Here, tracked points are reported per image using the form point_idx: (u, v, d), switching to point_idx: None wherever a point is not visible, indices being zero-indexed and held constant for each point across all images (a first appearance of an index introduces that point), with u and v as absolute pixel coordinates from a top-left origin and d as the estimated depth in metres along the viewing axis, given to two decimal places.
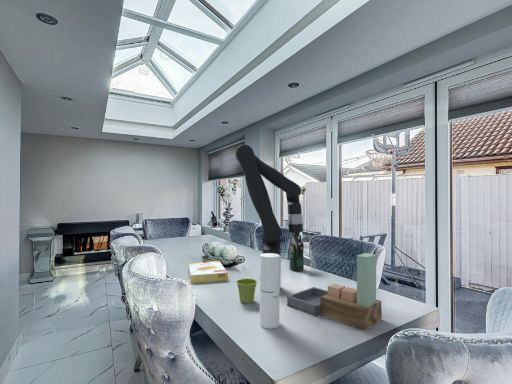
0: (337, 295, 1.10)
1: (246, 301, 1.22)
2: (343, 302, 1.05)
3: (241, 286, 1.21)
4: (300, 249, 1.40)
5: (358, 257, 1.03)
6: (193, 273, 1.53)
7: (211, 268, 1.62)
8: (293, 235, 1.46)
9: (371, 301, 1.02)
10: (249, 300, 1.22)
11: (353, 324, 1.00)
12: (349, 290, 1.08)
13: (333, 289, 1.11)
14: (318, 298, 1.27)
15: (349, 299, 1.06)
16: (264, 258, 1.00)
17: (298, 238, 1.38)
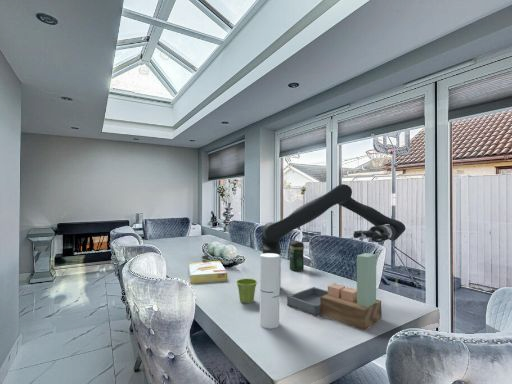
0: (337, 295, 1.10)
1: (246, 301, 1.22)
2: (343, 302, 1.05)
3: (241, 286, 1.21)
4: (378, 239, 1.18)
5: (358, 257, 1.03)
6: (193, 273, 1.53)
7: (211, 268, 1.62)
8: (371, 231, 1.27)
9: (371, 301, 1.02)
10: (249, 300, 1.22)
11: (353, 324, 1.00)
12: (349, 290, 1.08)
13: (333, 289, 1.11)
14: (318, 298, 1.27)
15: (349, 299, 1.06)
16: (264, 258, 1.00)
17: (389, 235, 1.20)
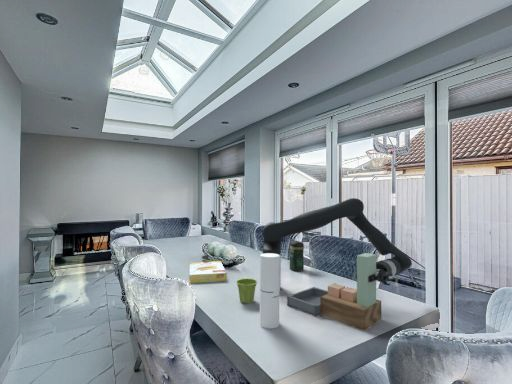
0: (337, 295, 1.10)
1: (246, 301, 1.22)
2: (343, 302, 1.05)
3: (241, 286, 1.21)
4: None
5: (358, 257, 1.03)
6: (192, 273, 1.53)
7: (211, 268, 1.62)
8: None
9: (371, 301, 1.02)
10: (249, 300, 1.22)
11: (353, 324, 1.00)
12: (349, 290, 1.08)
13: (333, 289, 1.11)
14: (318, 298, 1.27)
15: (349, 299, 1.06)
16: (264, 258, 1.00)
17: (390, 276, 1.03)
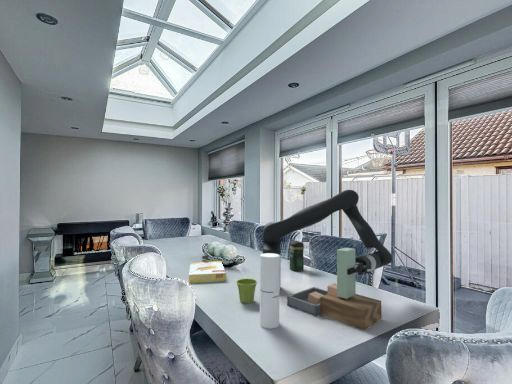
0: (309, 296, 1.20)
1: (246, 301, 1.22)
2: (343, 302, 1.05)
3: (241, 286, 1.21)
4: (353, 273, 1.08)
5: (338, 251, 1.09)
6: (191, 273, 1.54)
7: (210, 268, 1.62)
8: None
9: (350, 292, 1.08)
10: (249, 300, 1.22)
11: (353, 324, 1.00)
12: (334, 286, 1.13)
13: (312, 302, 1.19)
14: None
15: (335, 295, 1.11)
16: (264, 258, 1.00)
17: (368, 269, 1.09)
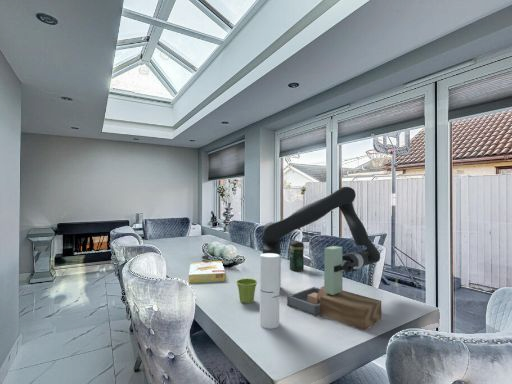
0: (308, 297, 1.20)
1: (246, 301, 1.22)
2: (343, 302, 1.05)
3: (241, 286, 1.21)
4: None
5: (325, 249, 1.13)
6: (191, 273, 1.54)
7: (210, 268, 1.62)
8: None
9: (337, 289, 1.12)
10: (249, 300, 1.22)
11: (353, 324, 1.00)
12: None
13: None
14: None
15: None
16: (264, 258, 1.00)
17: (355, 267, 1.14)
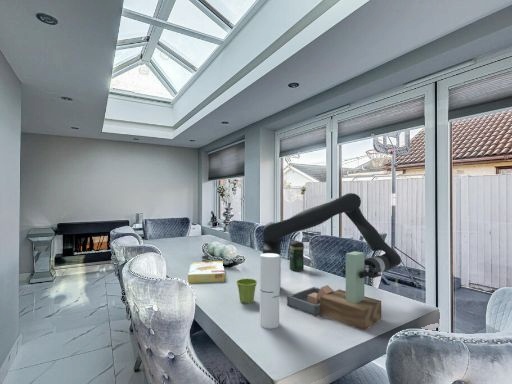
0: (308, 297, 1.20)
1: (246, 301, 1.22)
2: (343, 302, 1.05)
3: (241, 286, 1.21)
4: None
5: (347, 255, 1.06)
6: (191, 272, 1.54)
7: (210, 268, 1.62)
8: None
9: (359, 297, 1.06)
10: (249, 300, 1.22)
11: (353, 324, 1.00)
12: None
13: None
14: None
15: None
16: (264, 258, 1.00)
17: (379, 272, 1.07)
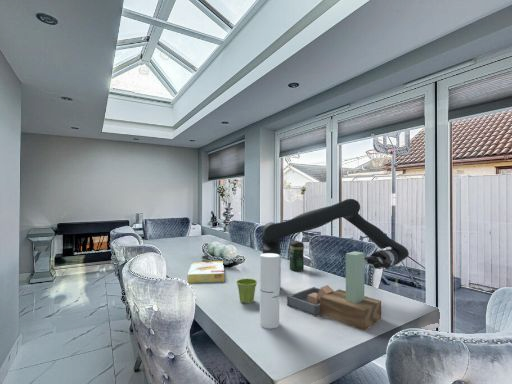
0: (308, 297, 1.20)
1: (246, 301, 1.22)
2: (343, 302, 1.05)
3: (241, 286, 1.21)
4: (379, 267, 1.14)
5: (347, 255, 1.06)
6: (190, 272, 1.54)
7: (210, 268, 1.62)
8: None
9: (359, 297, 1.06)
10: (249, 300, 1.22)
11: (353, 324, 1.00)
12: None
13: None
14: None
15: None
16: (264, 258, 1.00)
17: (391, 263, 1.17)
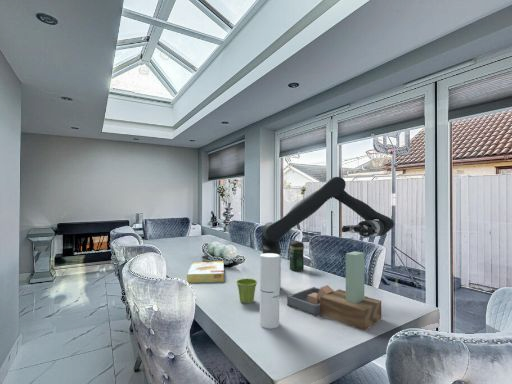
0: (308, 297, 1.20)
1: (246, 301, 1.22)
2: (343, 302, 1.05)
3: (241, 286, 1.21)
4: (365, 233, 1.21)
5: (347, 255, 1.06)
6: (190, 272, 1.54)
7: (210, 268, 1.62)
8: (359, 226, 1.30)
9: (359, 297, 1.06)
10: (249, 300, 1.22)
11: (353, 324, 1.00)
12: None
13: None
14: None
15: None
16: (264, 258, 1.00)
17: (376, 230, 1.23)
